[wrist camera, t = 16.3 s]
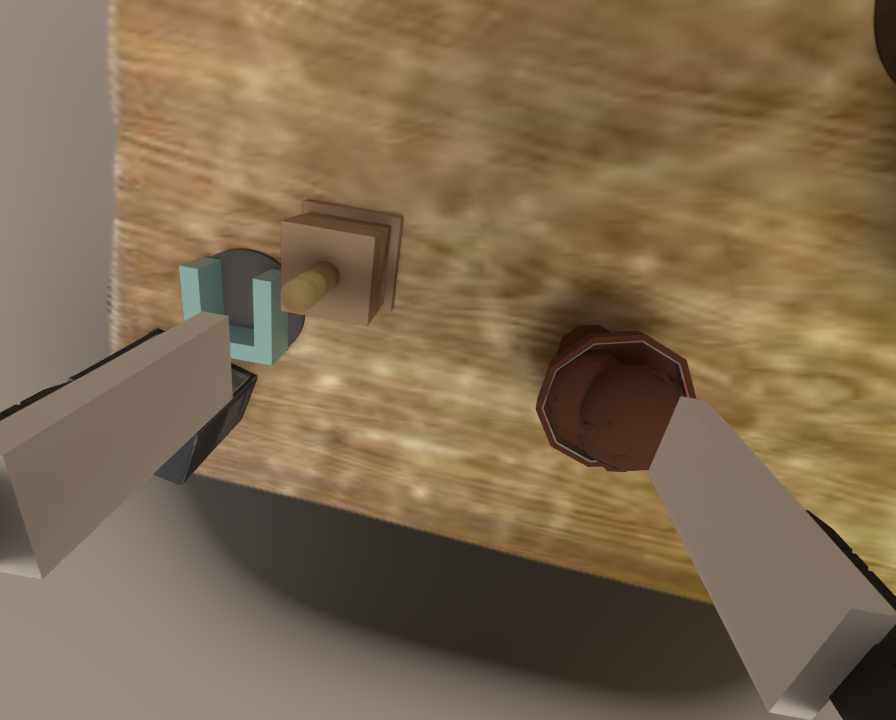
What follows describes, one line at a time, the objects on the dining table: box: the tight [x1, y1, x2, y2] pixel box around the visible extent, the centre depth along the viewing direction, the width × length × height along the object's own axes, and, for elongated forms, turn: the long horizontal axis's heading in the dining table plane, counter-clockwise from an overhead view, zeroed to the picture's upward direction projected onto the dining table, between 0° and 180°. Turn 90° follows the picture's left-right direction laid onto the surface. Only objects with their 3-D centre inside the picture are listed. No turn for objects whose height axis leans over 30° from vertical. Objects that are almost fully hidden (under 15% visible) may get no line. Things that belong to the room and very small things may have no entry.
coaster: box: [212, 249, 305, 346], centre depth 41 cm, size 10×10×1 cm
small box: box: [66, 329, 257, 486], centre depth 40 cm, size 11×6×10 cm, turn 63°
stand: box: [280, 200, 404, 326], centre depth 33 cm, size 8×8×12 cm
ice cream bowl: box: [536, 325, 696, 472], centre depth 34 cm, size 11×11×15 cm
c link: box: [179, 257, 288, 365], centre depth 39 cm, size 8×8×4 cm
